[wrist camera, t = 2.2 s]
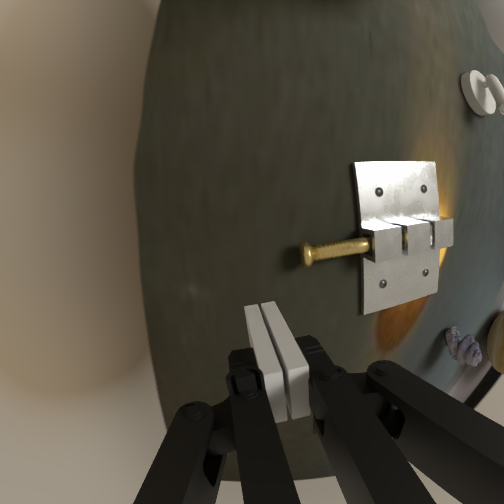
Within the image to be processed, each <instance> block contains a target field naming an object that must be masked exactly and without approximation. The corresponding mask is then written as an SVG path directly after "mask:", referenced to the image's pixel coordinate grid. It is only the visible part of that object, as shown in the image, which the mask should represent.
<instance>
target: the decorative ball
mask: <svg viewBox="0 0 504 504" xmlns="http://www.w3.org/2000/svg"><path fill="white" fill-rule="evenodd" d="M487 353H488V358H489V360H490V362H491V364H492V366H493V367H494V368H495V369H496V370H497V371H498V372H500V373H503V374H504V311H503V312H502V313H500V314H499V315H498V316H497V318H496V319H495V320H494V322H493V324H492V326H491V328H490V330H489V333H488V338H487Z"/></svg>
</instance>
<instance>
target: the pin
mask: <svg viewBox="0 0 504 504" xmlns="http://www.w3.org/2000/svg"><path fill="white" fill-rule="evenodd" d="M401 232H402V245H405V230H404V231H401ZM298 251H299V258H300V262H301V265H302V267H303V268H307V267H312V265H313V262H315V261H320V260H326V259H331V258H337V257H342V256H348V255H353V254H359V253H364V252H369V251H373V247H372V236H368V237H361V238H355V239H349V240H343V241H337V242H331V243H324V244H318V245H312V246H310V244H309V242H302V243H299V247H298Z"/></svg>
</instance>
